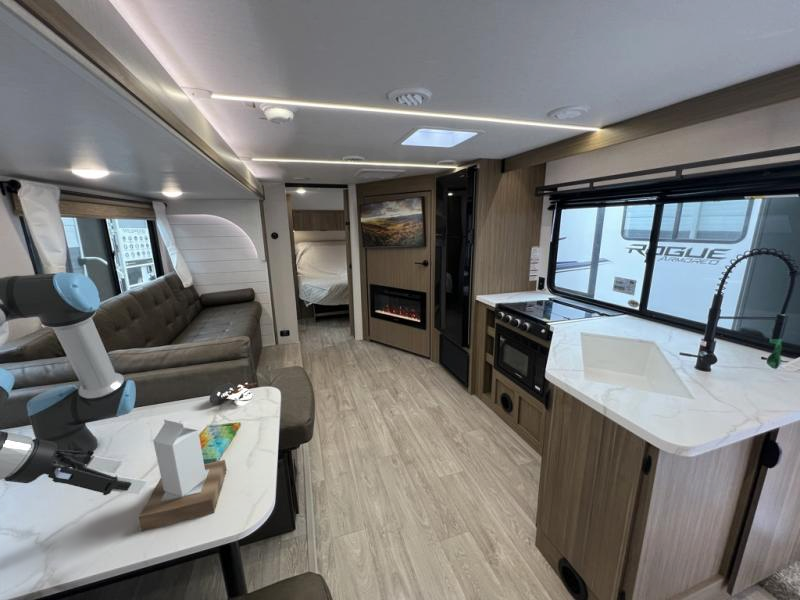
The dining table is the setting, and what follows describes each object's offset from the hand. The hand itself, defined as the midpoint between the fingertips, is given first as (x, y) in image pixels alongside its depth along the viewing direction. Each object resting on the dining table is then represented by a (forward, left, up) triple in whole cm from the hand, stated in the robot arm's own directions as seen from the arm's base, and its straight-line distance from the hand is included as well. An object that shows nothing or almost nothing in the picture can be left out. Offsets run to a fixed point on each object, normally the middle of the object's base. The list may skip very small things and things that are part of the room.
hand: (129, 476), depth 77 cm
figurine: (-61, +11, -15) cm, 64 cm away
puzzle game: (-28, +10, -15) cm, 34 cm away
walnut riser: (-7, +8, -14) cm, 18 cm away
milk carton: (-7, +8, -10) cm, 15 cm away
